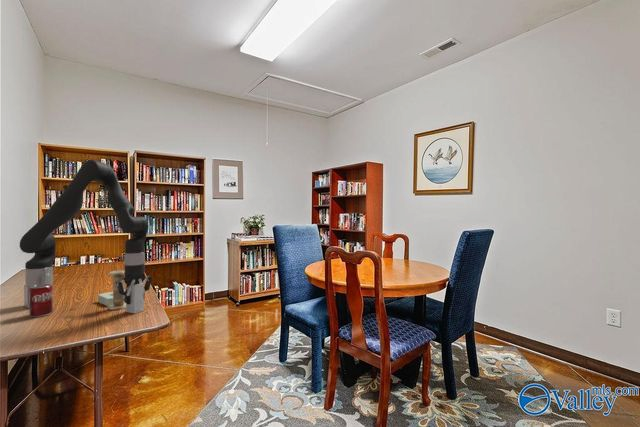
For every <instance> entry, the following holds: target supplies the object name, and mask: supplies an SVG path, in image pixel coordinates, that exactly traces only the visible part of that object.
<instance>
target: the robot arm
mask: <svg viewBox="0 0 640 427" xmlns="http://www.w3.org/2000/svg"><path fill="white" fill-rule="evenodd" d="M92 182H95V183H98V184H101V185H103V186H104V187H105V189H106V190H107V192H108V197H107V198H108V203H109V206H110V207H111V208H112V210H113V212H114V213H115V215H116V216H117V221H118V224H119V228H120V230H121V231H122V232H124V233H125V234H133V235H132V237H131V238H128V239H126V240H125V243H124V246H125V247H124V267H123V268H124V279H123V280H121V281H117V282H116V284H117V288H118V291H119V294H121V295H124V296H125V299H124V303H126V304H130V292H131V290H132V285H134V284H141V283H143V284H144V300H145V292H147V291H149V290H150V288H151V284H152V280H153V277H152V276H150V275H147V276H146V275H145V274H146V263H145V262H146V257H145V241H146V238H147V234H148V231H149V221H148V220H147V218H146V217H145V216H133V214H135V208H134V205H132V203H131V202H130V200H129V199H128V197H127V196H126V194H125V192H124V190H123V188H122V186H121V185H120V181H119V179H118V177H117V175H116V172H115V171H114V169H113V167H112V166H111V165H109V164H107V163H104V162H101V161H98V160H95V159H89V160H86V161H85V162H83V164H82V165H81V167H79V169H78V170H77V172H76V174H75V175H74V177H73V179H72V180H71V181H70V183H68V185H67V187H66V188H65V189H64V190H63V192H62V193H61V194H60V195H59V196H58V197H57V198H56V200H55V201H54V202H53V203H52V204H51V206H50V207H49V208H48V210H47V211H46V212H45V213H44V214H43V215H42V217H41V218H39V220H38V221H37V222H36V223H35V224H34V225H33V226H32V227H31V228H30V229H29V230H28V231H27V232H26V233H25V234H24V235H23V236H21V238H20V241H19V249H20V250H21V251H22V252H23V253H26V254H34V255H33V256H32V258H30V259H29V260H27V261H26V262H25V264H24V268H25V274H24V275H25V279H24V280H25V284H24V285H23V306H24V307H25V308H26V309H28V310H29V288H30V287H31V286H35V285H41V284H52V285H53V286H54V276H53V275H54V266H53V264H54V261H55V259H56V249H57V248H56V247H57V240H56V237H55V236H54V234H53V233H52V232H54V231H55V230H57V229H58V228H60V227H61V226H64V225H65V224H66V223H68V222H70V221H71V220H73V218H74V217H75V216H76V215H77V214H78V213H79V212H80V211H81V209H82V207H83V206H84V205H83V204H84V192H85V190H86V189H87V187H88V186H89V185H90V184H91V183H92ZM144 281H145V282H144ZM126 284H127V285H126ZM123 285H124V286H125V287H124V288H123ZM128 286H129V288H128ZM124 290H125V292H124Z"/></svg>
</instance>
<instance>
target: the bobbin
mask: <svg viewBox="0 0 640 427" xmlns="http://www.w3.org/2000/svg"><path fill="white" fill-rule="evenodd" d="M108 275H109V276H111V277H112V281H113V282H112V285H113V286H112V292H113V305H110V306H109V307H108V309H109V310H110V311H120V310H124V309H126V303H125V299H124V295H121V294H119V291H118V288H117V284H116V282H117V281H121V280H123V279H124V277H125V275H124V270H112V271H109V273H108ZM123 288H124V289H125V284H124V285H123Z"/></svg>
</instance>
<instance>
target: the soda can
mask: <svg viewBox="0 0 640 427" xmlns="http://www.w3.org/2000/svg"><path fill="white" fill-rule="evenodd" d="M53 301H54V284H53V285H52V284H41V285H35V286H31V287H30V288H29V308H28V310H29V311H28V312H29V313H28V314H29V315H28V316H29V317H30V318H41V317H47V316H49V315H51V314H52V313H53V312H54V302H53Z"/></svg>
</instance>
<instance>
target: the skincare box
mask: <svg viewBox="0 0 640 427" xmlns="http://www.w3.org/2000/svg"><path fill="white" fill-rule="evenodd" d="M126 285H127V284H126V283H125V286H126ZM144 286H145V283H144V282H143V283H141V284H134V285H132V290H131V292H130V304H126V308H125V312H126V313H131V314H138V313H141V312H144V309H145V308H144V307H145V306H144V301H145V299H144ZM128 288H129V286H128Z"/></svg>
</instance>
